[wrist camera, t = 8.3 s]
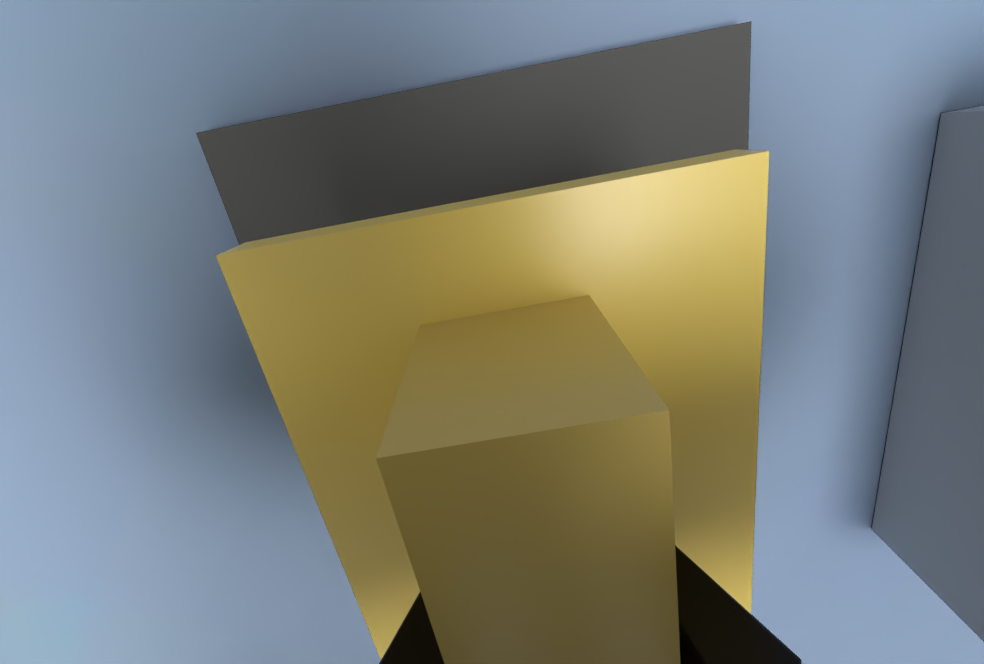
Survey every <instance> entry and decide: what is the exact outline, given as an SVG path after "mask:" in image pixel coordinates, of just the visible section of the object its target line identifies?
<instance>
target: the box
mask: <svg viewBox="0 0 984 664" xmlns="http://www.w3.org/2000/svg"><path fill="white" fill-rule="evenodd" d="M872 530H873V531H874V532H875V533H876V534H877V535H878V536H879V537H880V538H881V539H882V540H883V541H884V542H885V543H886V544H887V545H888V546H889V547H890V548H891V549H892V550H893V551H894V552H895V553H896V554H897V555H898V556H899V557H900V558H901V559H902V560H903V561H904V562H905V563H906V564H907V565H908V566H909V567H910V568H911V569H912V570H913V571H914V572H915V573H916V574H917V575H918V576H919V577H920V578H921V579H922V580H923V581H924V582H925V583H926V584H927V585H928V586H929V587H930V588H931V589H932V590H933V591H934V592H935V593H936V594H937V595H938V596H939V597H940V598H941V599H942V600H943V601H944V602H945V603H946V604H947V605H948V606H949V607H950V608H951V609H952V610H953V611H954V612H955V613H956V614H957V615H958V616H959V617H960V618H961V619H962V620H963V621H964V622H965V623H966V624H967V625H968V626H969V627H970V628H971V629H972V630H973V631H974V632H975V633H976V634H977V635H978V636H979V637H980V638H981V639H982V640H983V641H984V105H983V106H977V107H972V108H967V109H961V110H956V111H951V112H946V113H941V118H940V124H939V130H938V136H937V142H936V148H935V154H934V160H933V166H932V172H931V178H930V184H929V190H928V196H927V202H926V208H925V214H924V220H923V226H922V232H921V238H920V244H919V250H918V256H917V262H916V268H915V274H914V280H913V286H912V292H911V297H910V303H909V309H908V315H907V321H906V327H905V333H904V339H903V345H902V351H901V357H900V363H899V369H898V375H897V381H896V387H895V393H894V399H893V405H892V411H891V417H890V423H889V429H888V435H887V441H886V447H885V453H884V459H883V465H882V471H881V476H880V482H879V488H878V494H877V500H876V506H875V512H874V518H873V524H872Z"/></svg>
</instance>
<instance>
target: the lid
mask: <svg viewBox="0 0 984 664" xmlns="http://www.w3.org/2000/svg"><path fill="white" fill-rule="evenodd" d="M768 171H769V151H759V150H730V151H725V152H719V153H714V154H709V155H704V156H698V157H693V158H688V159H682V160H677V161H672V162H667V163H661V164H656V165H651V166H646V167H640V168H635V169H630V170H624V171H619V172H614V173H609V174H603V175H598V176H593V177H587V178H582V179H577V180H572V181H566V182H561V183H556V184H551V185H545V186H540V187H535V188H529V189H524V190H519V191H514V192H508V193H503V194H498V195H493V196H487V197H482V198H477V199H471V200H466V201H461V202H456V203H450V204H445V205H440V206H434V207H429V208H424V209H419V210H413V211H408V212H403V213H398V214H392V215H387V216H382V217H376V218H371V219H366V220H361V221H355V222H350V223H345V224H340V225H334V226H329V227H324V228H318V229H313V230H308V231H303V232H297V233H292V234H287V235H281V236H276V237H271V238H266V239H260V240H255V241H250V242H245V243H243V244H241V245H238V246H236V247H234V248H231V249H229V250H227V251H225V252H222V253H220V254H218V255H216V258H217V260H218V262H219V265H220V267H221V270H222V272H223V275H224V277H225V280H226V282H227V284H228V287H229V289H230V292H231V294H232V297H233V299H234V302H235V304H236V306H237V309H238V311H239V314H240V316H241V319H242V321H243V324H244V326H245V328H246V331H247V333H248V336H249V338H250V341H251V343H252V346H253V348H254V350H255V353H256V355H257V358H258V360H259V363H260V365H261V368H262V370H263V372H264V375H265V377H266V380H267V382H268V385H269V387H270V390H271V392H272V395H273V397H274V399H275V402H276V404H277V407H278V409H279V412H280V414H281V417H282V419H283V421H284V424H285V426H286V429H287V431H288V434H289V436H290V439H291V441H292V443H293V446H294V448H295V451H296V453H297V456H298V458H299V461H300V463H301V465H302V468H303V470H304V473H305V475H306V478H307V480H308V483H309V485H310V487H311V490H312V492H313V495H314V497H315V500H316V502H317V505H318V507H319V509H320V512H321V514H322V517H323V519H324V522H325V524H326V527H327V529H328V531H329V534H330V536H331V539H332V541H333V544H334V546H335V549H336V551H337V553H338V556H339V558H340V561H341V563H342V566H343V568H344V571H345V573H346V575H347V578H348V580H349V583H350V585H351V588H352V590H353V593H354V595H355V597H356V600H357V602H358V605H359V607H360V610H361V612H362V615H363V617H364V619H365V622H366V624H367V627H368V629H369V632H370V634H371V637H372V639H373V641H374V644H375V646H376V649H377V651H378V654H379V656H380V659H382V658H383V656H384V654H385V652H386V650H387V649H388V647H389V645H390V643H391V642H392V640H393V638H394V636H395V635H396V633H397V631H398V629H399V628H400V626H401V624H402V622H403V621H404V619H405V617H406V615H407V613H408V612H409V610H410V608H411V606H412V605H413V603H414V601H415V599H416V598H417V596H418V594H419V592H421V595H422V598H423V601H424V604H425V607H426V610H427V613H428V616H429V619H430V622H431V625H432V628H433V631H434V634H435V637H436V640H437V643H438V646H439V649H440V652H441V655H442V658H443V661H444V664H680V641H679V618H678V596H677V573H676V550H675V545H676V546H677V547H678V548H679V549H680V550H681V551H682V552H683V553H685V554H686V555H687V556H688V557H689V558H690V559H691V560H692V561H693V562H694V563H696V564H697V565H698V566H699V567H700V568H701V569H702V570H703V571H704V572H705V573H707V574H708V575H709V576H710V577H711V578H712V579H713V580H714V581H715V582H716V583H718V584H719V585H720V586H721V587H722V588H723V589H724V590H725V591H726V592H727V593H728V594H730V595H731V596H732V597H733V598H734V599H735V600H736V601H737V602H738V603H739V604H741V605H742V606H743V607H744V608H745V609H746V610H747V611H748V612H749V613H750V614H751V598H752V573H753V548H754V523H755V498H756V473H757V448H758V422H759V397H760V372H761V347H762V322H763V297H764V272H765V247H766V222H767V196H768Z"/></svg>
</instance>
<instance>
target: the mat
mask: <svg viewBox="0 0 984 664" xmlns="http://www.w3.org/2000/svg"><path fill="white" fill-rule="evenodd" d="M750 53H751V21H750V22H745V23H741V24H736V25H731V26H726V27H721V28H716V29H711V30H706V31H701V32H696V33H691V34H686V35H681V36H676V37H671V38H666V39H661V40H656V41H651V42H646V43H641V44H636V45H631V46H626V47H621V48H616V49H611V50H606V51H601V52H596V53H591V54H586V55H581V56H576V57H571V58H567V59H562V60H557V61H552V62H547V63H542V64H537V65H532V66H527V67H522V68H517V69H512V70H507V71H502V72H497V73H492V74H487V75H482V76H477V77H472V78H467V79H462V80H457V81H452V82H447V83H442V84H437V85H432V86H427V87H422V88H417V89H412V90H407V91H402V92H397V93H393V94H388V95H383V96H378V97H373V98H368V99H363V100H358V101H353V102H348V103H343V104H338V105H333V106H328V107H323V108H318V109H313V110H308V111H303V112H298V113H293V114H288V115H283V116H278V117H273V118H268V119H263V120H258V121H253V122H248V123H243V124H238V125H233V126H228V127H223V128H219V129H214V130H209V131H204V132H199V133H196V134H197V137H198V139H199V142H200V144H201V147H202V149H203V152H204V155H205V157H206V160H207V162H208V165H209V168H210V170H211V173H212V175H213V178H214V180H215V183H216V186H217V188H218V191H219V193H220V196H221V199H222V201H223V204H224V206H225V209H226V211H227V214H228V217H229V219H230V222H231V224H232V227H233V230H234V232H235V235H236V237H237V240H238V243H239V245H241V244H243V243H245V242H250V241H255V240H260V239H266V238H271V237H276V236H281V235H287V234H292V233H297V232H303V231H308V230H313V229H318V228H324V227H329V226H334V225H340V224H345V223H350V222H355V221H361V220H366V219H371V218H376V217H382V216H387V215H392V214H398V213H403V212H408V211H413V210H419V209H424V208H429V207H434V206H440V205H445V204H450V203H456V202H461V201H466V200H471V199H477V198H482V197H487V196H493V195H498V194H503V193H508V192H514V191H519V190H524V189H529V188H535V187H540V186H545V185H551V184H556V183H561V182H566V181H572V180H577V179H582V178H587V177H593V176H598V175H603V174H609V173H614V172H619V171H624V170H630V169H635V168H640V167H646V166H651V165H656V164H661V163H667V162H672V161H677V160H682V159H688V158H693V157H698V156H704V155H709V154H714V153H719V152H725V151H730V150H748V131H749V92H750Z"/></svg>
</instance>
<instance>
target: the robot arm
mask: <svg viewBox="0 0 984 664" xmlns="http://www.w3.org/2000/svg"><path fill="white" fill-rule="evenodd" d="M675 550H676V573H677V596H678V618H679V641H680V664H801V659H800V658H799V657H798V656H797V655H795V654H794V653H793V652H792V651H791V650H790V649H789V648H788V647H787V646H786V645H785V644H783V643H782V642H781V641H780V640H779V639H778V638H777V637H776V636H775V635H774V634H772V633H771V632H770V631H769V630H768V629H767V628H766V627H765V626H764V625H763V624H761V623H760V622H759V621H758V620H757V619H756V618H755V617H754V616H753V615H752V614H750V613H749V612H748V611H747V610H746V609H745V608H744V607H743V606H742V605H741V604H739V603H738V602H737V601H736V600H735V599H734V598H733V597H732V596H731V595H730V594H728V593H727V592H726V591H725V590H724V589H723V588H722V587H721V586H720V585H719V584H718V583H716V582H715V581H714V580H713V579H712V578H711V577H710V576H709V575H708V574H707V573H705V572H704V571H703V570H702V569H701V568H700V567H699V566H698V565H697V564H696V563H694V562H693V561H692V560H691V559H690V558H689V557H688V556H687V555H686V554H685V553H683V552H682V551H681V550H680V549H679V548H678V547H677V546H676V545H675ZM379 664H444V661H443V658H442V655H441V652H440V649H439V646H438V643H437V640H436V637H435V634H434V631H433V628H432V625H431V622H430V619H429V616H428V613H427V610H426V607H425V604H424V601H423V598H422V595H421V592H419V594H418V596H417V598H416V599H415V601H414V603H413V605H412V606H411V608H410V610H409V612H408V613H407V615H406V617H405V619H404V621H403V622H402V624H401V626H400V628H399V629H398V631H397V633H396V635H395V636H394V638H393V640H392V642H391V643H390V645H389V647H388V649H387V650H386V652H385V654H384V656H383V658H382V659H381V661H380V663H379Z"/></svg>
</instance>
